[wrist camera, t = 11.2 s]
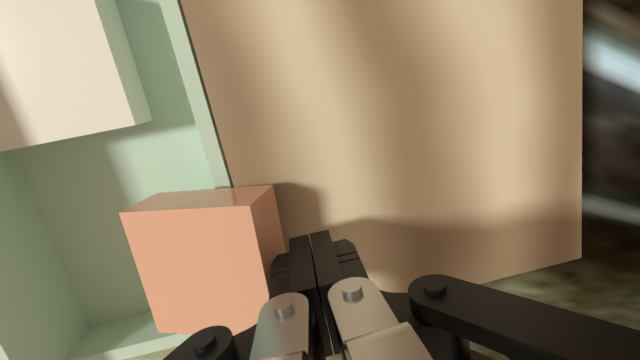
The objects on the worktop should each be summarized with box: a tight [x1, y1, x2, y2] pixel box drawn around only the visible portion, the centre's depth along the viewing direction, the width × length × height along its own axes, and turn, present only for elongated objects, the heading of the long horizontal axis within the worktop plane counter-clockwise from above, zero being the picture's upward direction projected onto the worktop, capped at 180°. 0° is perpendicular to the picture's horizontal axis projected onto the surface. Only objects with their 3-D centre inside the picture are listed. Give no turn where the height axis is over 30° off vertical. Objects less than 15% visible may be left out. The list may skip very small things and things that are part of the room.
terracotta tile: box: [119, 185, 286, 336], centre depth 13 cm, size 5×5×2 cm
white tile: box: [0, 0, 153, 152], centre depth 14 cm, size 5×5×2 cm
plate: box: [180, 0, 583, 293], centre depth 15 cm, size 14×16×4 cm
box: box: [0, 0, 234, 360], centre depth 14 cm, size 10×16×5 cm, turn 12°
